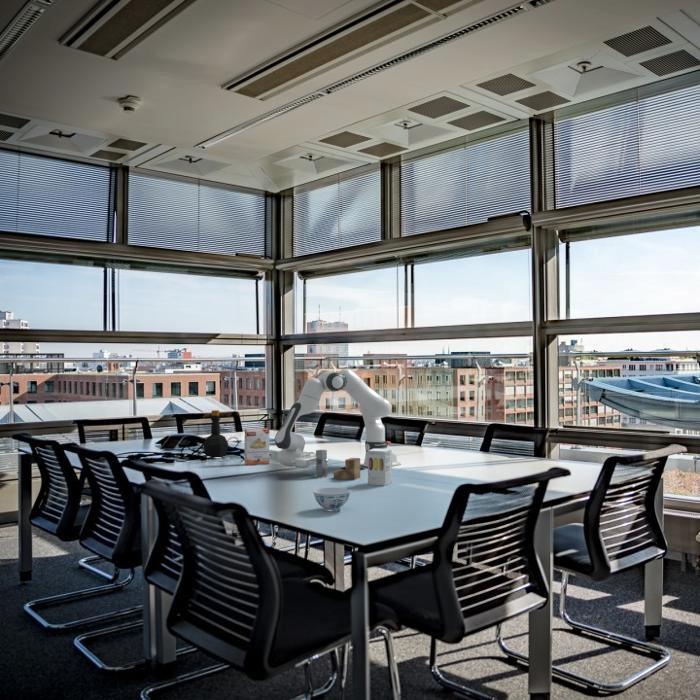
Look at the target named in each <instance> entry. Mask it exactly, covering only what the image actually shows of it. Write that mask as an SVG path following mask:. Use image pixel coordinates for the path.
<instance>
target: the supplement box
mask: <svg viewBox="0 0 700 700" xmlns="http://www.w3.org/2000/svg"><path fill="white" fill-rule="evenodd" d="M392 451H393V450H392V449H390V448H389V449H376V448H375V449H371V450H368V467H367V485H368V484H372V485H371V486H380V485H384V486H383V487H386V486H388V485H390V484H392V483H393V475H392V469H393V466H392ZM385 485H386V486H385Z"/></svg>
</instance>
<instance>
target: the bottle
mask: <svg viewBox="0 0 700 700" xmlns="http://www.w3.org/2000/svg"><path fill="white" fill-rule="evenodd" d="M210 421H211V425H210V426H211V428H210V430H211V432H210V433H211V434H210V435H209V436H207V437H206V438H205V440H204V441H203V450H204V453H205V456H206V455H208V456H211V457H223V456H225V457H226V456H227V452H228V449H229V443H228V440H227V439H226V437H225V436H224V435H222V434H221V425H220V421H221V415H220V410H219V409H218V410H217V409H216V410H211V415H210Z"/></svg>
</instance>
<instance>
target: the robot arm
mask: <svg viewBox="0 0 700 700" xmlns="http://www.w3.org/2000/svg"><path fill="white" fill-rule="evenodd" d="M342 389H343V390H344V391H345V392H346V393H347V394H348V395H349V397H351V398H352V399H353V401H355V402H356V403H357V404H359V405H358V410H359V412H360V414H361V415H362V418H363V422H364V427H365V442H364V447H365V449H364V450H365V454H364V455H365V456H364V461H363V465H362V466H364V467H366V468H368V450H371V449H375V448H376V449H390V448H389V446H391V444H392V443H391V441H388V440H387V441H386V431H385V430H386V428H385V425H384V424H383V422H382V418H386V417H388V416H389V415H390V414H391V413H392V409H393V408H392V404H391V402H390V401H388V400H387V399H385V398H384V397H382V396H381V395H379V393H377V392H376V391H375V390H374V389H372V388H370V387H369V385H367V384H366V383H365V381H363V379H362V378H361V377H359V375H358V374H356V373H355V372H354V371H353V370H351V369H350V368H343V369H341V370H340V371H339V372H338V371H337V372H335V371H330V370H329V371H326V370H325V371H324V370H323V371H321V372H320V373H318V374H317V375H316V376H315V377H311V378H308V379H307V380H306V382H305V384H304V386H303V388H302V390H301V393H300V395H299V398H298V399H297V400H296V402H294V403H293V404H292V405H291V407H290V409H289V411H288V413H286V417H285V418H284V421H283V422H282V424H281V427H280V428H279V429H278V431H277V432H276V434H275V435H274V443H275V446H276V447H277V448H278V449H281V450H279V452H278V453H277V454H276V455H277V456H276V457H277V458H276V459H277V461H278V464H280V465H282V466H285V467H289V468H297V469H306V468H308V467H310V466H312V465H315V466H316V464H317V461H316V452H313V451H309V452H308V451H304V449H305V446H306V445H305V444H306V441H305V440H306V439H305V438H304V437H303V436H302V435H301V434H297V433H295V432H293V431H292V430H293V428H294V426H295V424H296V423H297V420H298V419H299V417H301V416H303V415H309V414H312V413H314V412H315V411H316V410H317V408H318V406H319V404H320V402H321V398H322V395H323V393H324V392H325V391H326V392H338V391H340V390H342ZM388 445H389V446H388ZM329 462H330V461H329V458H327V463H329ZM399 465H402V462H400V461H398V458H397V454H396V452H395V451H393V450H392V467H395V466H399Z"/></svg>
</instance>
